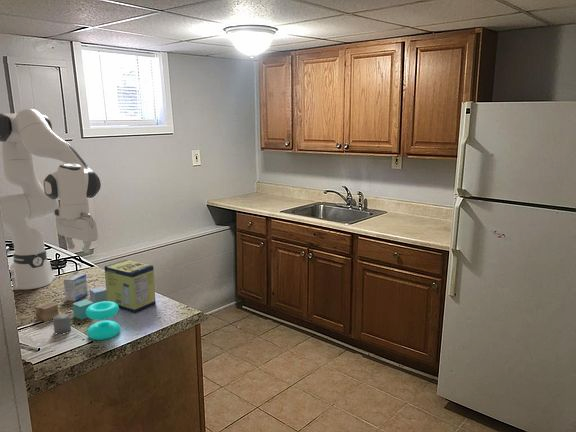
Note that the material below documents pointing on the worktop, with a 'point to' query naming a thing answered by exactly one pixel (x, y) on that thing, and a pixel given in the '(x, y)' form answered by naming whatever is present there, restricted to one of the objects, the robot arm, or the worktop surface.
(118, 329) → the donuts
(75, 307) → the teal block
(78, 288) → the medicine box
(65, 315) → the charcoal cylinder
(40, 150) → the robot arm
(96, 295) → the slate blue block
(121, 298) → the protein box
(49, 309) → the walnut block
